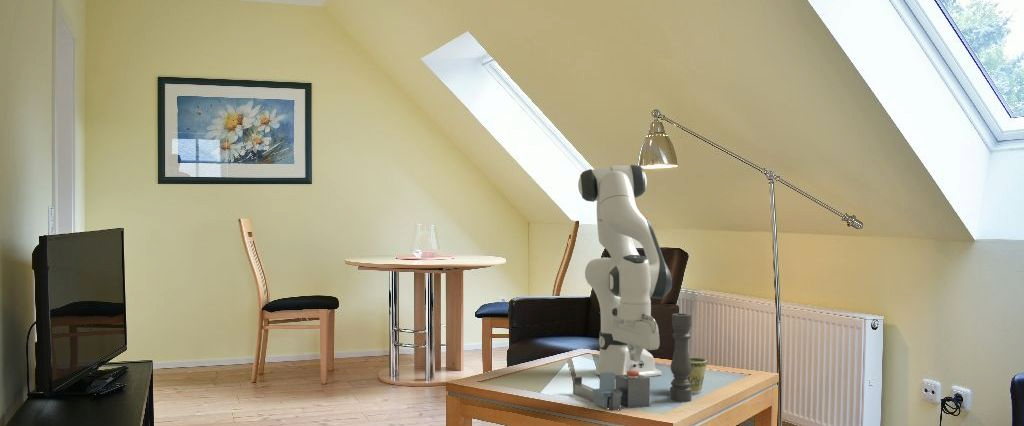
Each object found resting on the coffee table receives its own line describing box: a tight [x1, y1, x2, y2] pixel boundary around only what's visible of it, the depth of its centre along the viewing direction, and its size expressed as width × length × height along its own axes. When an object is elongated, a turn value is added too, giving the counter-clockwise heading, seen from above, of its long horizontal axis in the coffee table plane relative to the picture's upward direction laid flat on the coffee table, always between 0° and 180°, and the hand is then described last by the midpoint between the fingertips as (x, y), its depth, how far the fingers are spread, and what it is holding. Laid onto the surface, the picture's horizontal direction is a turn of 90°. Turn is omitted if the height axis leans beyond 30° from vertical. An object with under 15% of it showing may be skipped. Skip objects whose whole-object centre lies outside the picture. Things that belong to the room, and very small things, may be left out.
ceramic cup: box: [688, 356, 708, 395], centre depth 273 cm, size 13×10×10 cm
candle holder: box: [669, 312, 693, 403], centre depth 260 cm, size 6×6×25 cm
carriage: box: [593, 372, 622, 409], centre depth 250 cm, size 6×6×9 cm
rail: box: [572, 376, 621, 411], centre depth 256 cm, size 2×24×5 cm, turn 23°
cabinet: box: [615, 374, 651, 409], centre depth 253 cm, size 7×7×8 cm
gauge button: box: [627, 371, 639, 378], centre depth 253 cm, size 3×3×6 cm
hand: (635, 360), depth 253 cm, fingers closed
